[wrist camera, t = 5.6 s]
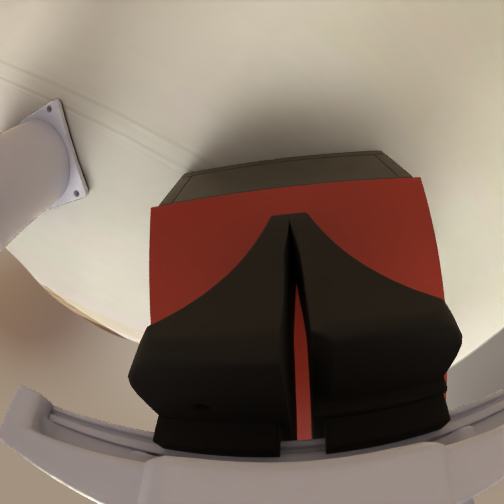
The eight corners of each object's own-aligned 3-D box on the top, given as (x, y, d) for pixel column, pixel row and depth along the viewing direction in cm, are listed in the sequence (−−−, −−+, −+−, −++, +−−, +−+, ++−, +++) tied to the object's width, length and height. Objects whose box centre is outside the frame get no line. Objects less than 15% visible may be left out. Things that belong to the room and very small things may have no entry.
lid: (434, 435, 9) (441, 441, 8) (174, 454, 11) (167, 461, 10) (415, 184, 12) (420, 176, 11) (158, 212, 13) (150, 207, 13)
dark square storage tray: (372, 290, 22) (387, 334, 18) (223, 304, 24) (214, 350, 20) (381, 150, 15) (413, 177, 12) (183, 173, 17) (157, 205, 13)
